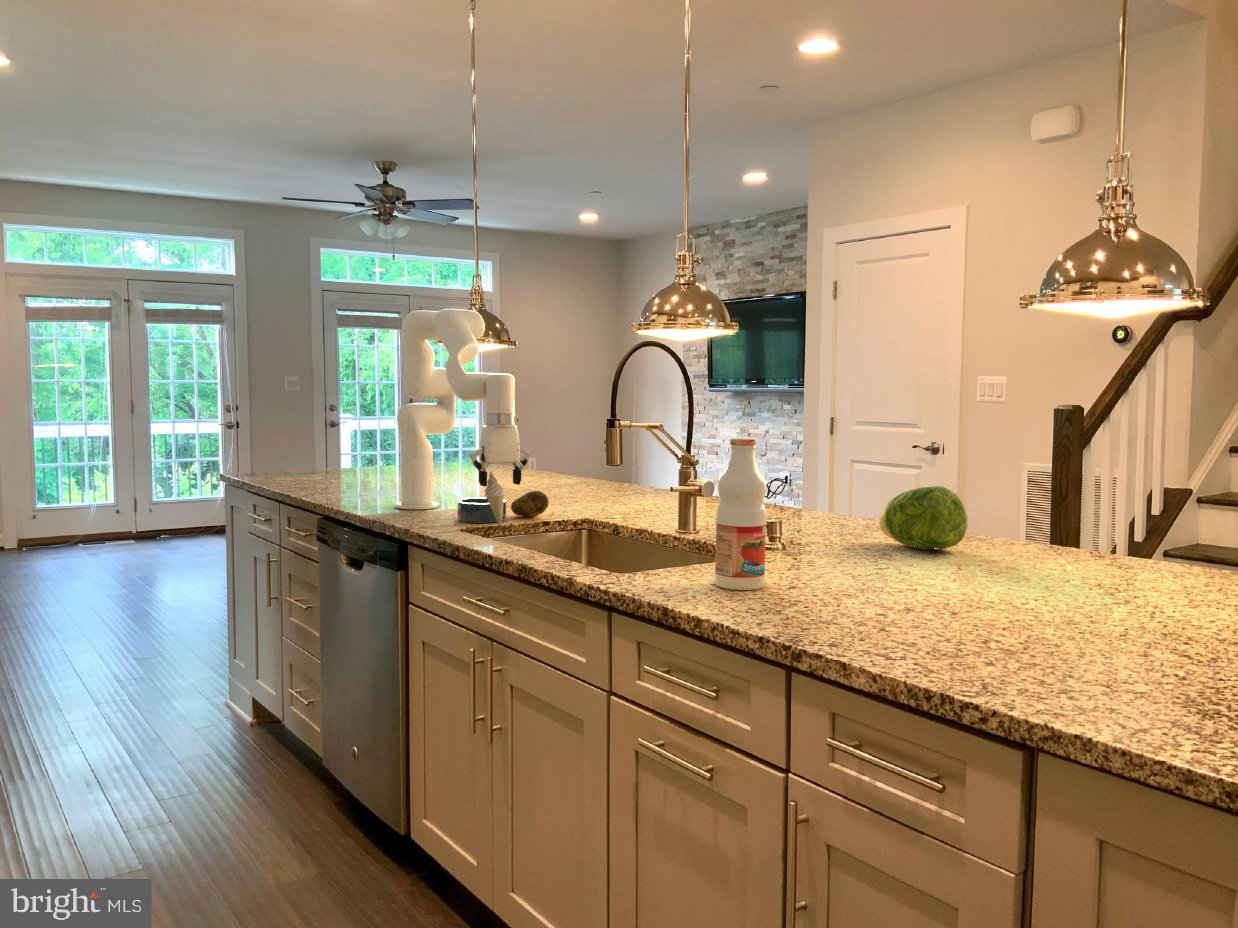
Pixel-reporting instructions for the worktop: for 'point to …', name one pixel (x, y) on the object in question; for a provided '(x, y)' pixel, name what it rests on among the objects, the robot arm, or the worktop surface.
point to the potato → (530, 504)
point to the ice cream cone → (495, 497)
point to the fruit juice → (741, 521)
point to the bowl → (477, 511)
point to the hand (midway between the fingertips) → (500, 484)
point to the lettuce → (925, 518)
